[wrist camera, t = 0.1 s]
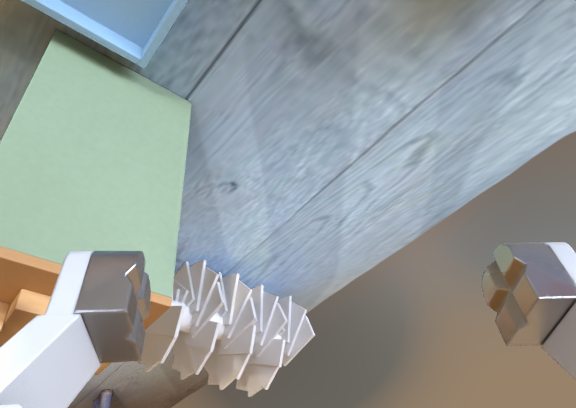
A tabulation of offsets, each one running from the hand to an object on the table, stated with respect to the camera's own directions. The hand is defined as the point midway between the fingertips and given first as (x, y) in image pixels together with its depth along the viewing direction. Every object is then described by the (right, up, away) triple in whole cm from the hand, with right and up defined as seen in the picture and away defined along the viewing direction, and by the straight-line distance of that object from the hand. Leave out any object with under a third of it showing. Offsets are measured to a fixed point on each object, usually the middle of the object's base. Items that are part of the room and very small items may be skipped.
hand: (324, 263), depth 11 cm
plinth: (-22, +12, +43) cm, 50 cm away
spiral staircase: (-12, -12, +71) cm, 73 cm away
